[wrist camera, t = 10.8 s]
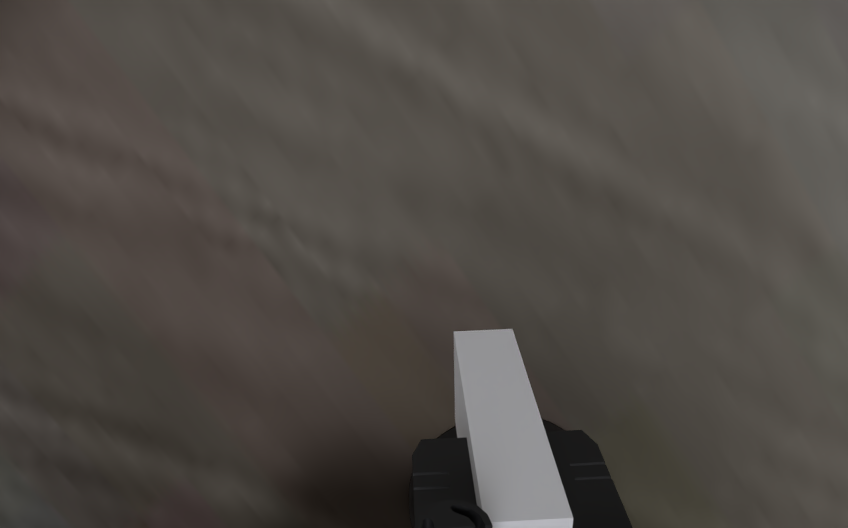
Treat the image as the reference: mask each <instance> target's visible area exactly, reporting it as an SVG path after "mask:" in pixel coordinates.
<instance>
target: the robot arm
mask: <svg viewBox="0 0 848 528" xmlns="http://www.w3.org/2000/svg"><path fill="white" fill-rule="evenodd" d="M454 385H455V424H456V427H454V428H452V429H450V430H449V431H447V432H446V433H444V434H443V435H441V436H440V437H439V438H437V439H424V440H421V441H420V443H419V444H418V446H417V448H416V450H415V452H414V453H413V455H412V461H413V472H412V476H411V479H410V484H409V512H410V520H411V524H412V528H632V525H631V523H630V521H629V518H628V516H627V514H626V511H625V509H624V506H623V504H622V502H621V499H620V497H619V495H618V492H617V490H616V487H615V485H614V483H613V480H612V479H611V476H610V473H609V471H608V469H607V466H606V465H605V461H604V459H603V457H602V454H601V452H600V450H599V447H598V445H597V444H596V443H595V442H594V441H593V440H592V439H591V438H590V437H589V436H588V435H586V434H585V433H584V432H583V431H582V430H574V431H564V430H563V429H561V428H559V427H558V426H556V425H554V424H552V423H550V422H547V421H545V420H542V419H541V416H540V413H539V410H538V407H537V404H536V401H535V398H534V394H533V391H532V388H531V385H530V382H529V379H528V376H527V373H526V370H525V367H524V363H523V360H522V357H521V354H520V351H519V348H518V345H517V342H516V339H515V335H514V332H513V329H498V330H476V331H455V332H454Z"/></svg>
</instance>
